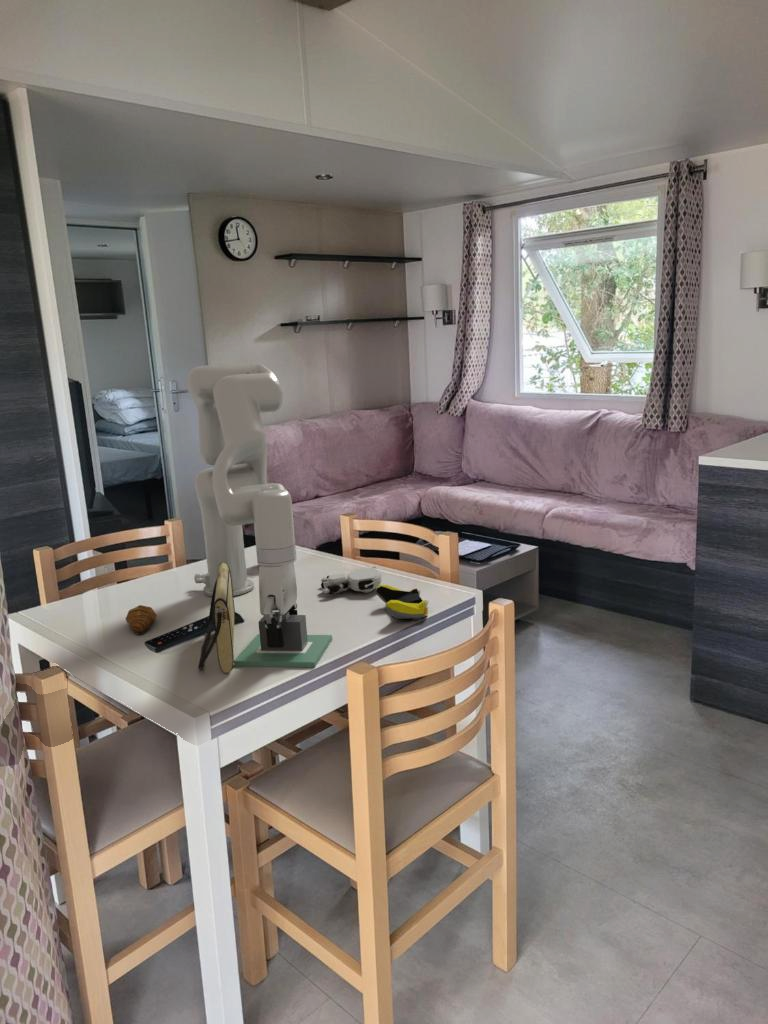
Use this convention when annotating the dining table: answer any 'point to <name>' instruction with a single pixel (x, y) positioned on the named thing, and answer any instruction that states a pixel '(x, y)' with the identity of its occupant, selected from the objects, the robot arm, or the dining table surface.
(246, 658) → the pin board
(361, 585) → the robot toy
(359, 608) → the dining table surface
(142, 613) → the croissant
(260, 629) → the block
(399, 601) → the yellow black shoe
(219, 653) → the clutch purse
